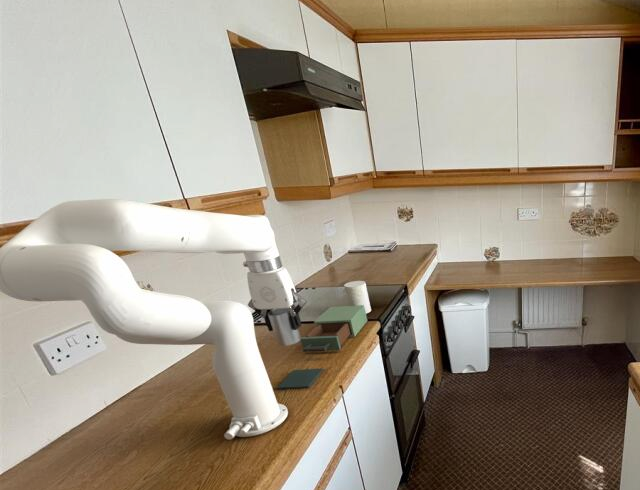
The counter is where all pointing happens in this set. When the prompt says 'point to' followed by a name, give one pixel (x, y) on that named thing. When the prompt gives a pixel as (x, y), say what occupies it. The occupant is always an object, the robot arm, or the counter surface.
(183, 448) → the counter surface
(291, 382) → the mat
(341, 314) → the cabinet
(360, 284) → the cup
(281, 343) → the metallic grey cylinder
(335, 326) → the drawer
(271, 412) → the robot arm
